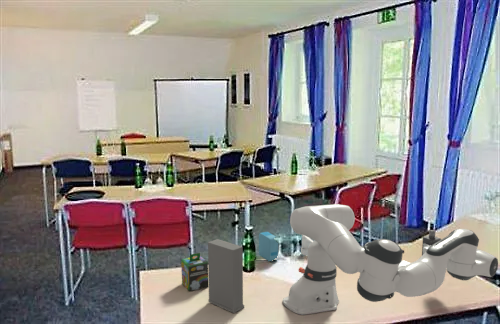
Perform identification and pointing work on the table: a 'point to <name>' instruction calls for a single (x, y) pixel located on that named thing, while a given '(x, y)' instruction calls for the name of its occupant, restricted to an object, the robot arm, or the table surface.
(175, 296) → the table surface
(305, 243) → the white angled block
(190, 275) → the chalk box
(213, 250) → the tall grey upright box
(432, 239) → the plug
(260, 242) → the data package
